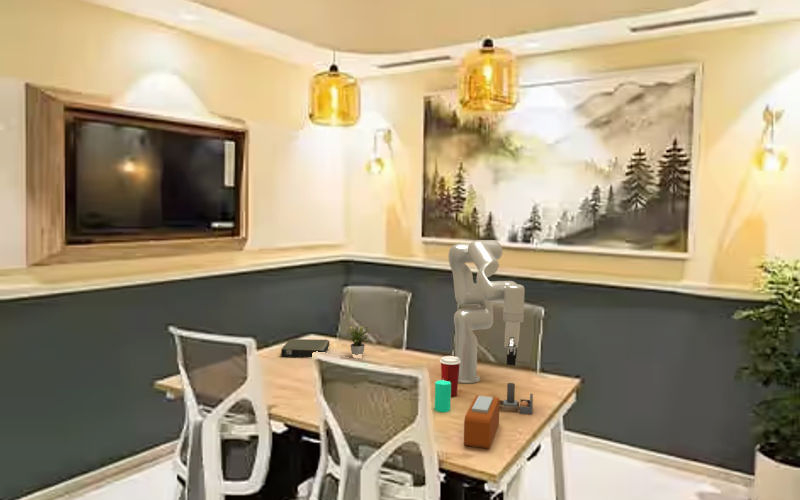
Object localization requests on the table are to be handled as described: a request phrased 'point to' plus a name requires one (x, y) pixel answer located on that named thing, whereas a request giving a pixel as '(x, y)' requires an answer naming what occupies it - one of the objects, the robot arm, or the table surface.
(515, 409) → the frame
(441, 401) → the candle
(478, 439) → the alarm clock
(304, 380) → the table surface
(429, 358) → the table surface
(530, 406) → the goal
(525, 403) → the ball
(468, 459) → the table surface
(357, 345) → the house plant
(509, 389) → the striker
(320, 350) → the network switch
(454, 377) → the coffee cup
